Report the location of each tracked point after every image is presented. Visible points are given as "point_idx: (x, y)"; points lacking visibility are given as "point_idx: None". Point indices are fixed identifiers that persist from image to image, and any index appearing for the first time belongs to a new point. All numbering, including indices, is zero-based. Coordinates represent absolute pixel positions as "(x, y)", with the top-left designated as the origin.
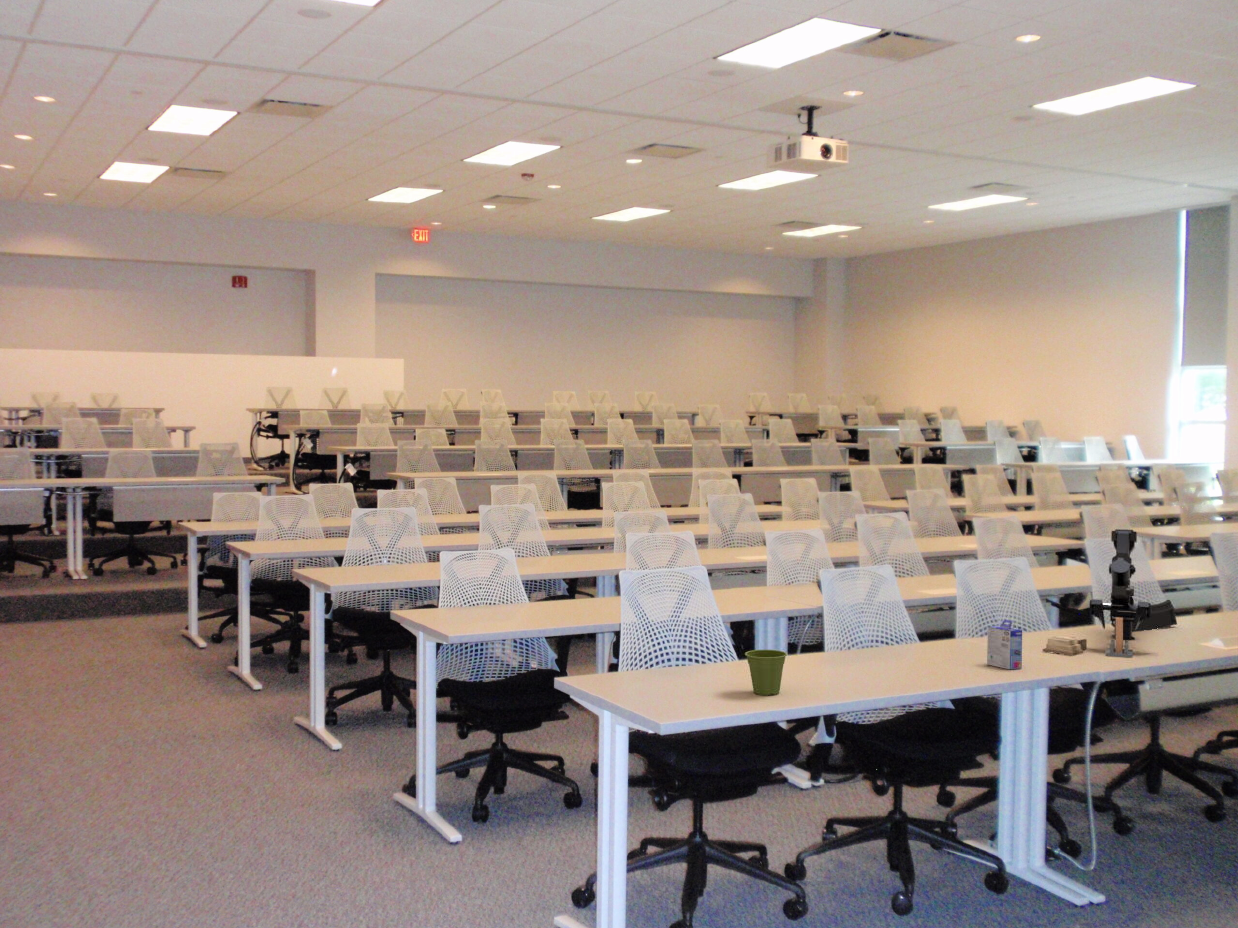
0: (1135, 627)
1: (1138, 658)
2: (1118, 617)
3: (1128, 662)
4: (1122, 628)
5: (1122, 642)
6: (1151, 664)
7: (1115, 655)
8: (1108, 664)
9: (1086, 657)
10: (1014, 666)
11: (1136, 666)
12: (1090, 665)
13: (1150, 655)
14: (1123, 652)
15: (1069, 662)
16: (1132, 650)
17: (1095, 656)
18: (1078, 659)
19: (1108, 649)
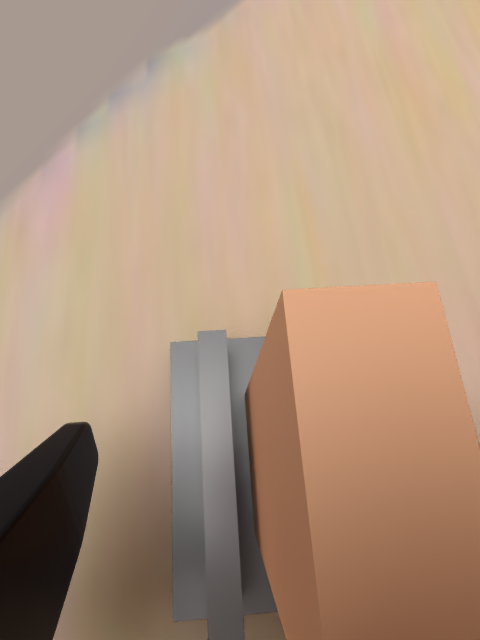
0: (53, 436)
1: (132, 341)
2: (456, 633)
3: (187, 184)
4: (265, 405)
5: (252, 433)
6: (62, 180)
7: None
8: (277, 96)
9: (428, 230)
10: None
11: (142, 102)
12: (348, 47)
13: None
14: (237, 409)
15: (452, 73)
16: (176, 559)
17: None
18: (444, 157)
19: None
